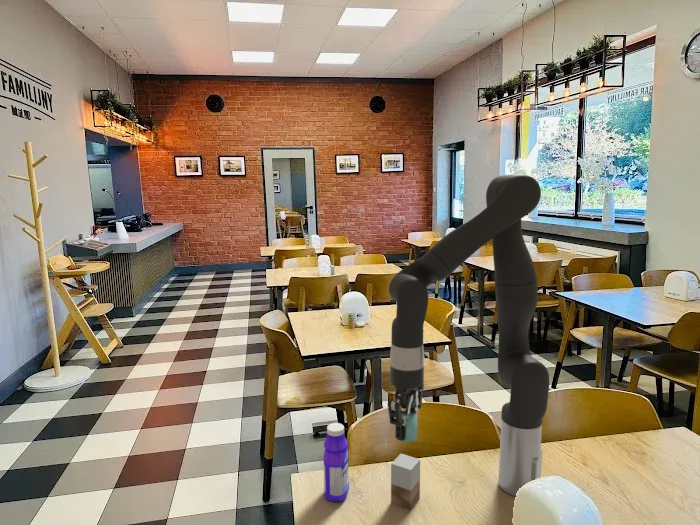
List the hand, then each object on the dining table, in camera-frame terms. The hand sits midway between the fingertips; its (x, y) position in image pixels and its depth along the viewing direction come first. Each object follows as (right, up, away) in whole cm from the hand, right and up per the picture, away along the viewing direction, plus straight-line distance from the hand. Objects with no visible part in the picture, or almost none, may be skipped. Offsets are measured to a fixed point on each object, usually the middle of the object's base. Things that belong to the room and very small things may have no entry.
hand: (406, 433), depth 110 cm
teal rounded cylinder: (0, -1, 0) cm, 1 cm away
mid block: (0, -12, +2) cm, 12 cm away
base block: (0, -17, +3) cm, 17 cm away
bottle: (-16, -17, +5) cm, 24 cm away
